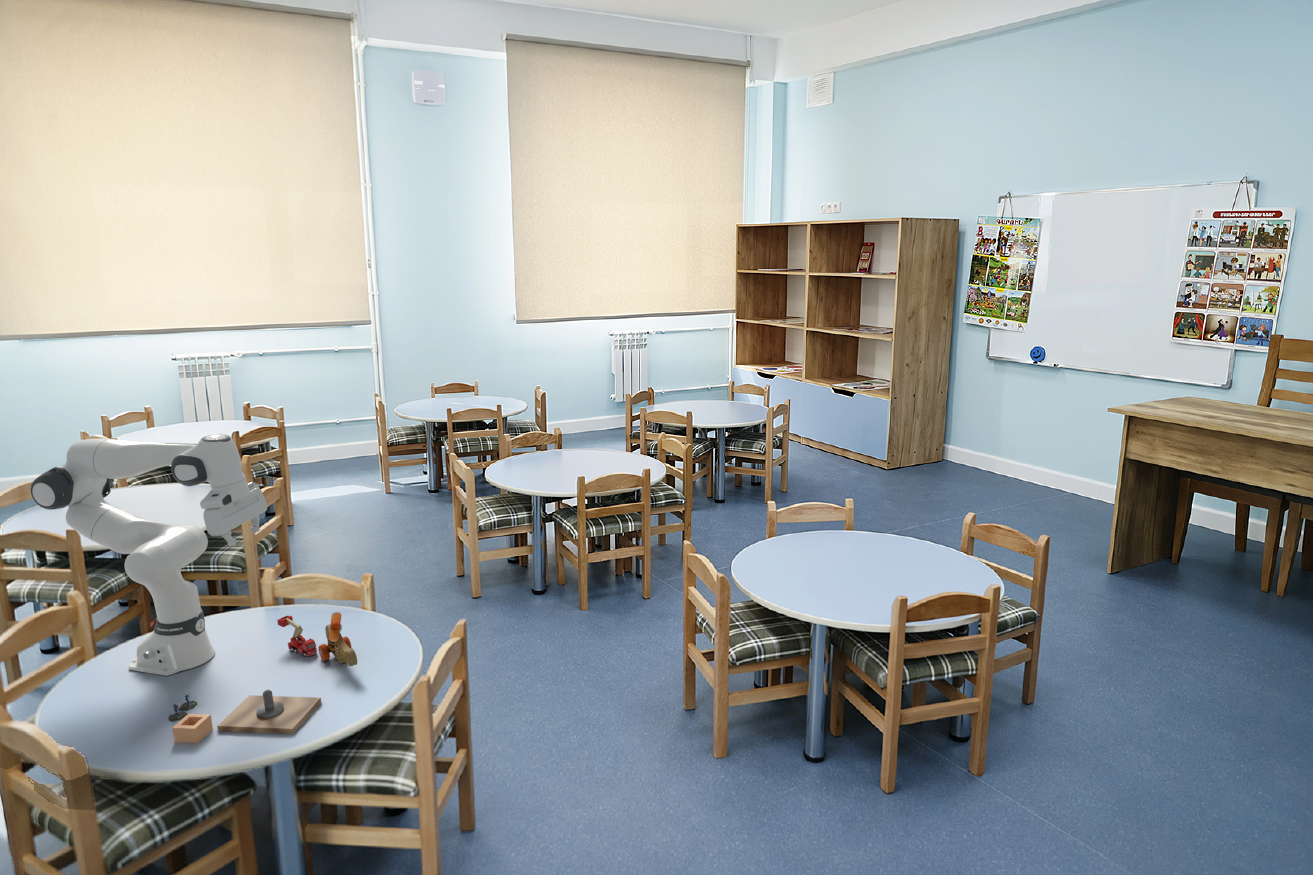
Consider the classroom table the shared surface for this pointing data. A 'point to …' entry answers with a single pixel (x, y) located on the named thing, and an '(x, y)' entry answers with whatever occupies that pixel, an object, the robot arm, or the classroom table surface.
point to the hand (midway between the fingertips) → (244, 538)
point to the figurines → (184, 706)
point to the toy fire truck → (298, 638)
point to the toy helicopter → (337, 643)
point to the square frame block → (192, 728)
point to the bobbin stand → (270, 714)
